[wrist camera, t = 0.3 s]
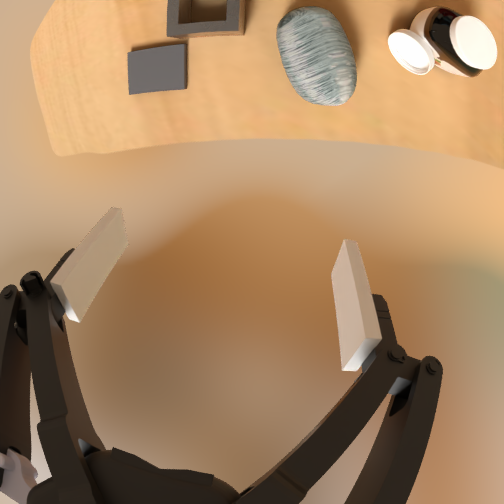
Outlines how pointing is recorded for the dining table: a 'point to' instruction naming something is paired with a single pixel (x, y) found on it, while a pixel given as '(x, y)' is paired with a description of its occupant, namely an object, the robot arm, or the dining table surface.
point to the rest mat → (157, 69)
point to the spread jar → (444, 43)
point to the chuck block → (183, 27)
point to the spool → (317, 56)
